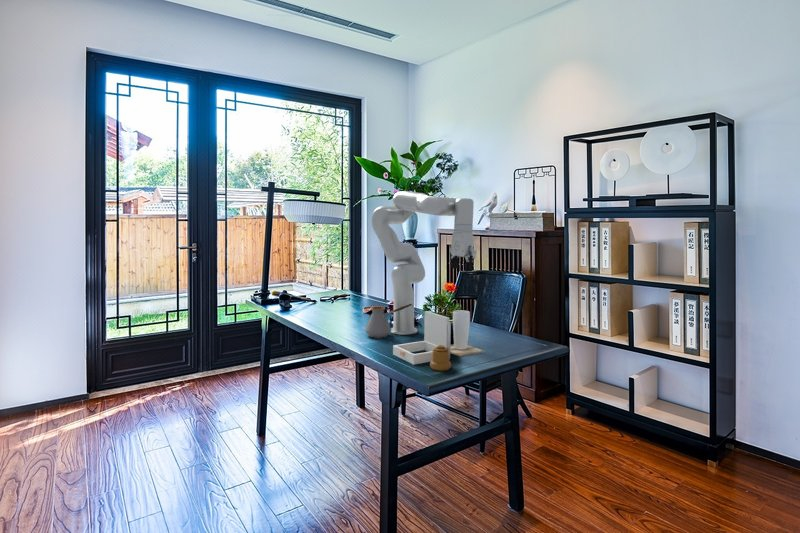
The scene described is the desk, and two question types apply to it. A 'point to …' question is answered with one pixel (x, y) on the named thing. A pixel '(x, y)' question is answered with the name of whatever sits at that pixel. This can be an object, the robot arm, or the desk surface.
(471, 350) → the wooden pad
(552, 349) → the desk surface
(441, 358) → the ornamental finial
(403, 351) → the open case
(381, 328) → the coffee pot
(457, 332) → the drinking glass
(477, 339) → the desk surface
